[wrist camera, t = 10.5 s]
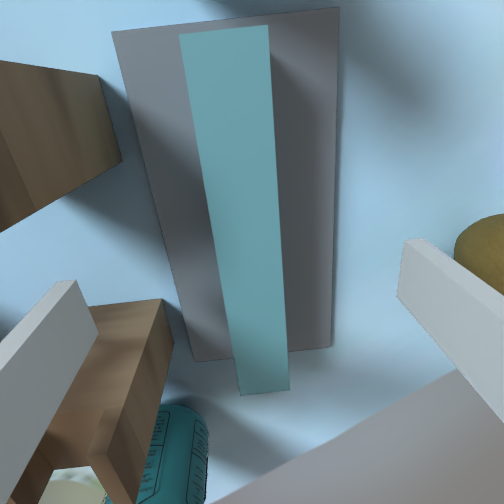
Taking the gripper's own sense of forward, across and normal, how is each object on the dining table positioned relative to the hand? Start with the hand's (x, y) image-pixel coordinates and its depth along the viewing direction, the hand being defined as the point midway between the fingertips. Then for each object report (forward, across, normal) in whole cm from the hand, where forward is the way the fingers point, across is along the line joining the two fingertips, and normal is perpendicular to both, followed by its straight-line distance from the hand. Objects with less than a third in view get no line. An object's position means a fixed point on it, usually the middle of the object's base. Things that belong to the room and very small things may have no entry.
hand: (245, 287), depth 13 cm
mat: (+7, 0, 0) cm, 7 cm away
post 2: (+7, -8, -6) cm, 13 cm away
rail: (+6, 0, 0) cm, 6 cm away
